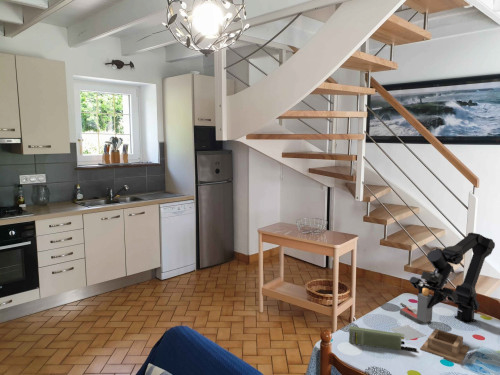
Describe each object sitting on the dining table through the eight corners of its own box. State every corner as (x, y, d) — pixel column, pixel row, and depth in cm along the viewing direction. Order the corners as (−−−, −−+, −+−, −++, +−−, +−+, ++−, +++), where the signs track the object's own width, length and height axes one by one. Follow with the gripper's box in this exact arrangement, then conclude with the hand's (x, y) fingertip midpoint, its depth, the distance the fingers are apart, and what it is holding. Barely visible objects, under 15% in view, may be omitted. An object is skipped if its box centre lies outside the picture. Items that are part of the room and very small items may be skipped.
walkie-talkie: (434, 323, 170) (402, 305, 189) (435, 314, 170) (402, 297, 188) (419, 326, 167) (387, 308, 186) (419, 317, 167) (388, 299, 185)
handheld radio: (349, 340, 155) (416, 350, 147) (348, 344, 152) (416, 355, 144) (349, 324, 154) (417, 334, 146) (349, 329, 151) (417, 339, 143)
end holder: (430, 337, 157) (431, 325, 157) (469, 348, 148) (470, 336, 148) (420, 350, 147) (420, 338, 146) (460, 364, 138) (461, 351, 137)
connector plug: (423, 316, 159) (424, 286, 158) (431, 320, 156) (433, 289, 154) (416, 318, 157) (418, 288, 156) (425, 322, 154) (427, 291, 152)
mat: (407, 326, 167) (407, 324, 167) (425, 336, 158) (426, 335, 158) (389, 330, 163) (389, 329, 163) (407, 341, 154) (407, 340, 154)
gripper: (412, 258, 164) (394, 288, 159) (455, 270, 148) (436, 304, 144) (423, 272, 169) (406, 302, 164) (465, 285, 153) (447, 318, 149)
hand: (423, 306), depth 155 cm, fingers closed on connector plug, 4 cm apart
